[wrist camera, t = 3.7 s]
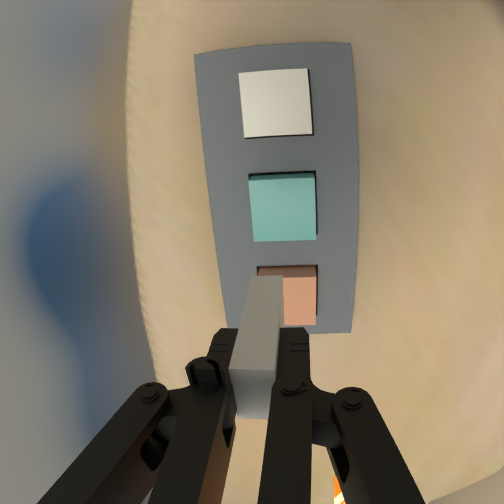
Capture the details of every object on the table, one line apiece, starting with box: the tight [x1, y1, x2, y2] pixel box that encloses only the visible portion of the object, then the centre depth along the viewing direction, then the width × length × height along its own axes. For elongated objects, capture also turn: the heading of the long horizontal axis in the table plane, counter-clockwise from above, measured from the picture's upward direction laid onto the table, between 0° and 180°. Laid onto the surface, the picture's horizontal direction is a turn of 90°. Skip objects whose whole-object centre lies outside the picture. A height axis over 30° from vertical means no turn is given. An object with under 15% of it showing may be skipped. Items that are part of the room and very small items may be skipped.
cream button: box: [238, 68, 312, 138], centre depth 27 cm, size 6×6×3 cm
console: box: [194, 42, 359, 334], centre depth 33 cm, size 32×15×3 cm, turn 5°
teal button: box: [248, 172, 316, 242], centre depth 31 cm, size 6×6×3 cm
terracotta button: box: [258, 265, 316, 325], centre depth 35 cm, size 6×6×3 cm
